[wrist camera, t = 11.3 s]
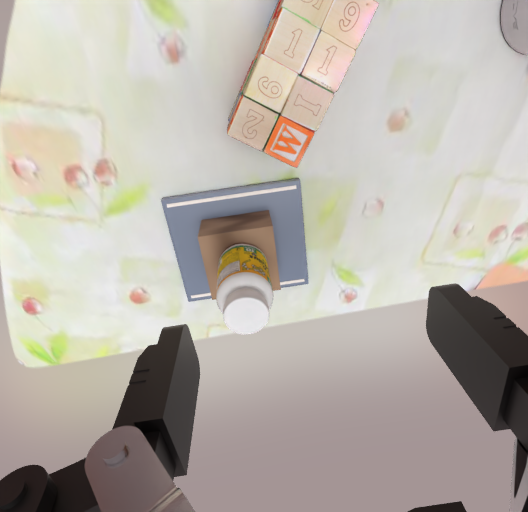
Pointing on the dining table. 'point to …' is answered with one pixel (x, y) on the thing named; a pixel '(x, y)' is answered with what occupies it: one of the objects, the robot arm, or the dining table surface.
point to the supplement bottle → (244, 288)
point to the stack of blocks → (297, 74)
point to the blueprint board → (233, 203)
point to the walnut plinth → (237, 242)
